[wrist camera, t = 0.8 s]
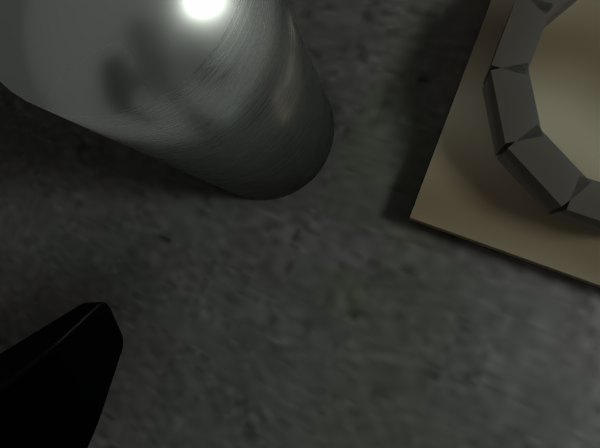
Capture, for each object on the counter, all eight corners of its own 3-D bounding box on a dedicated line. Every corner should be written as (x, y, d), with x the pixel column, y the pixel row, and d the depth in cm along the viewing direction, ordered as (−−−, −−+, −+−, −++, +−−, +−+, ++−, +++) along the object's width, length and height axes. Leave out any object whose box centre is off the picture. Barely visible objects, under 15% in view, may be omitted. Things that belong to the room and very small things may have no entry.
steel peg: (304, 220, 23) (179, 158, 10) (177, 173, 24) (-81, 63, 11) (355, 85, 23) (297, -152, 10) (226, 44, 24) (26, -213, 11)
